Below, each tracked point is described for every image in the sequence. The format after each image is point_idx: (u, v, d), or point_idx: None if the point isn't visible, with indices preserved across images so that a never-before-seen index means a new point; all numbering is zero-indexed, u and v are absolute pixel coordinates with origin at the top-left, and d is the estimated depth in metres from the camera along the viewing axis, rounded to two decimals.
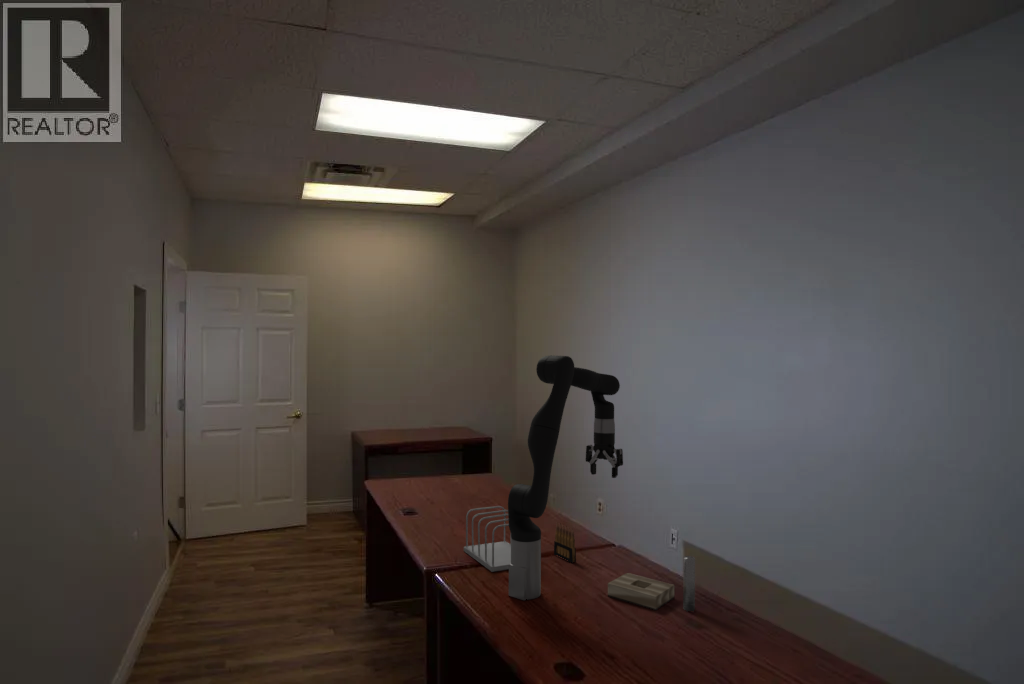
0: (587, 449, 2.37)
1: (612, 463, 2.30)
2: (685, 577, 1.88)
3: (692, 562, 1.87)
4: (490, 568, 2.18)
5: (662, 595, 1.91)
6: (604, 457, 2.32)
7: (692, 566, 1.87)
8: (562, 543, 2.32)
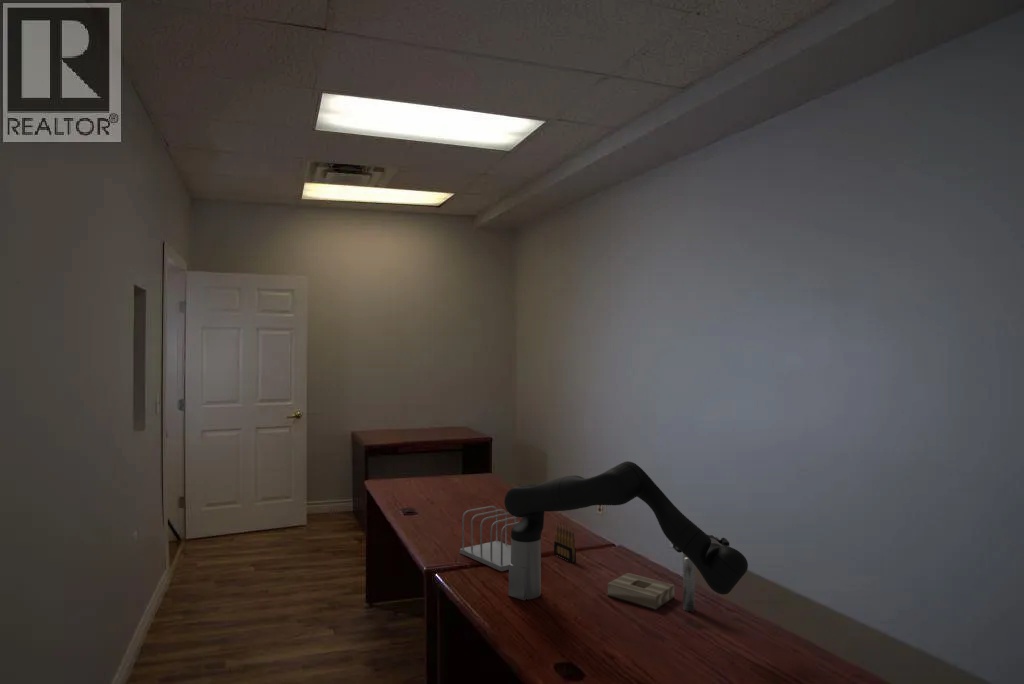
0: (726, 541, 1.73)
1: None
2: (685, 577, 1.88)
3: (692, 562, 1.87)
4: (499, 568, 2.18)
5: (662, 595, 1.91)
6: None
7: (692, 566, 1.87)
8: (562, 543, 2.32)
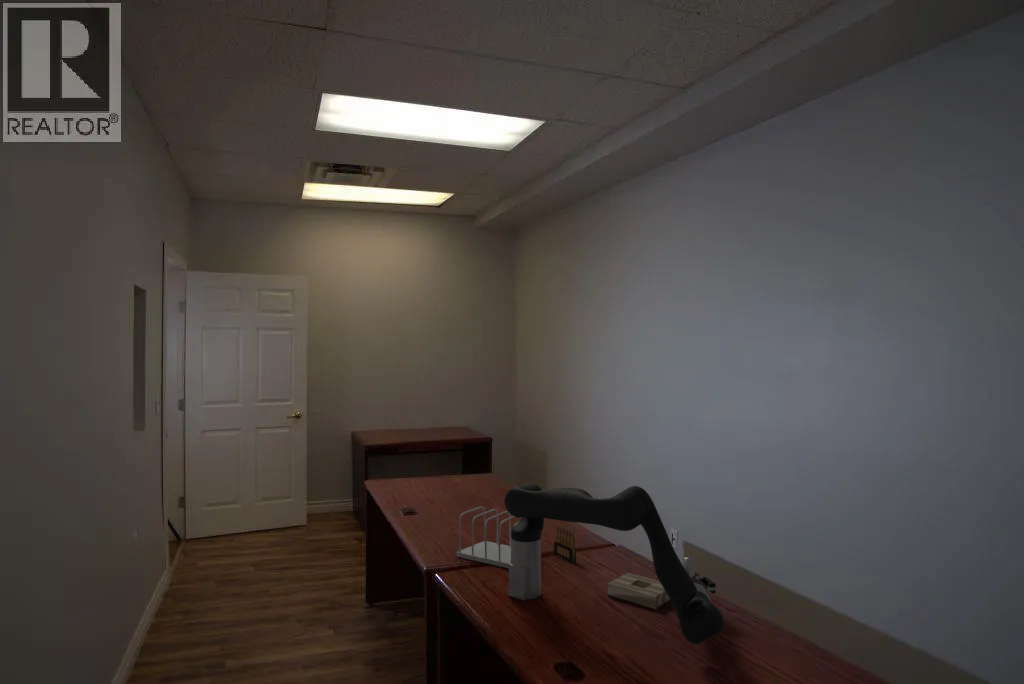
0: (712, 582, 1.82)
1: None
2: None
3: (692, 562, 1.87)
4: None
5: (662, 595, 1.91)
6: None
7: (692, 566, 1.87)
8: (562, 543, 2.32)
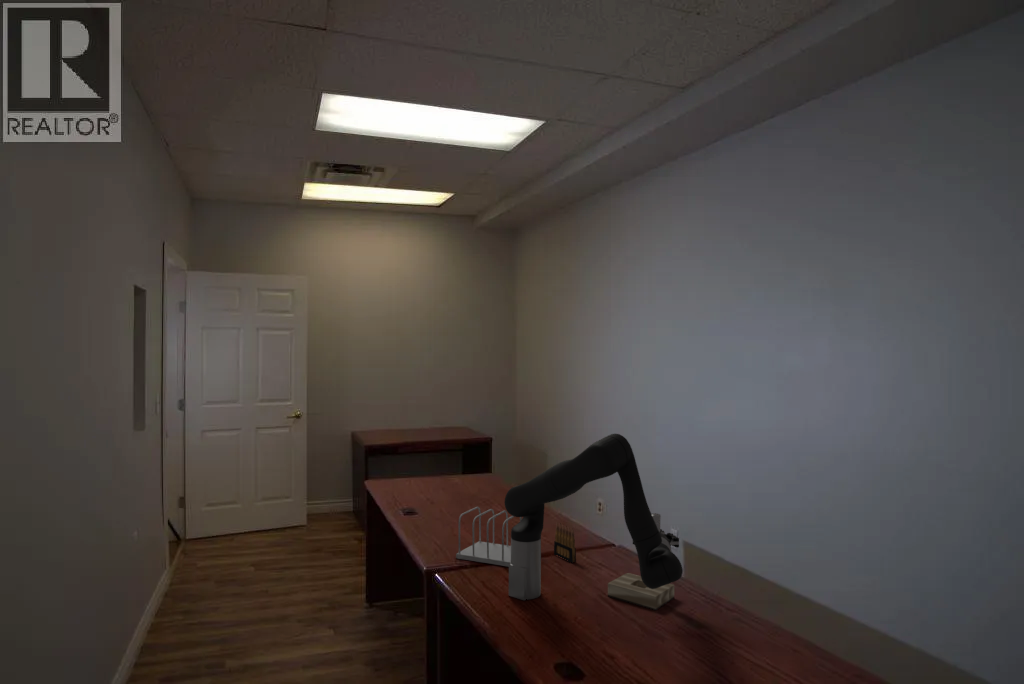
0: (675, 537, 1.89)
1: None
2: None
3: (657, 519, 1.94)
4: None
5: (662, 595, 1.91)
6: None
7: (658, 522, 1.94)
8: (562, 543, 2.32)
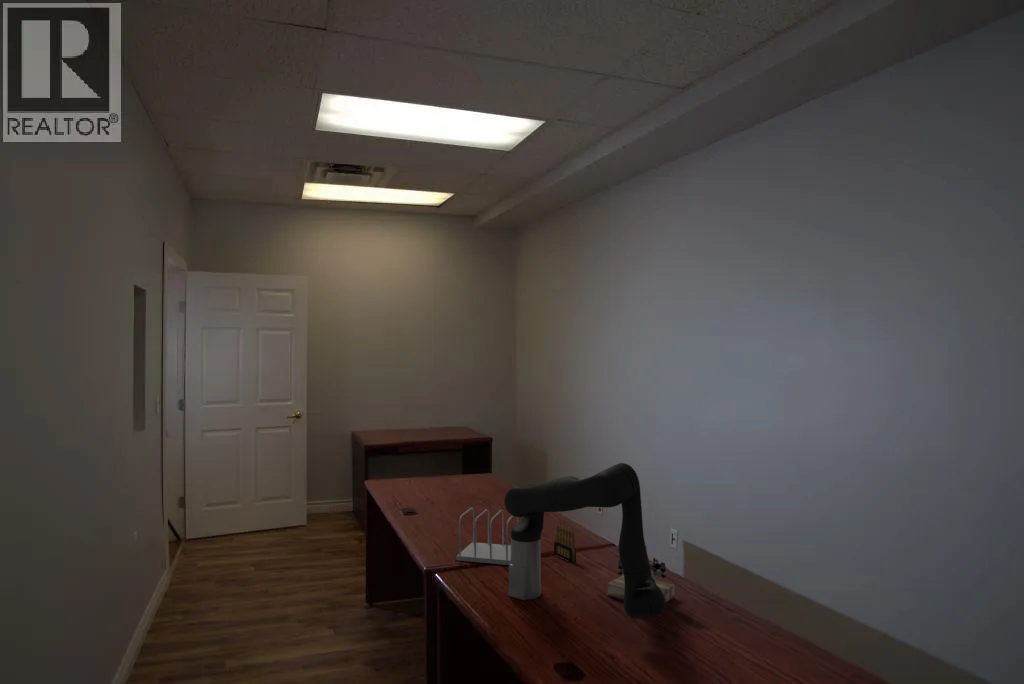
0: (663, 567, 1.90)
1: None
2: None
3: None
4: None
5: None
6: None
7: None
8: (562, 543, 2.32)
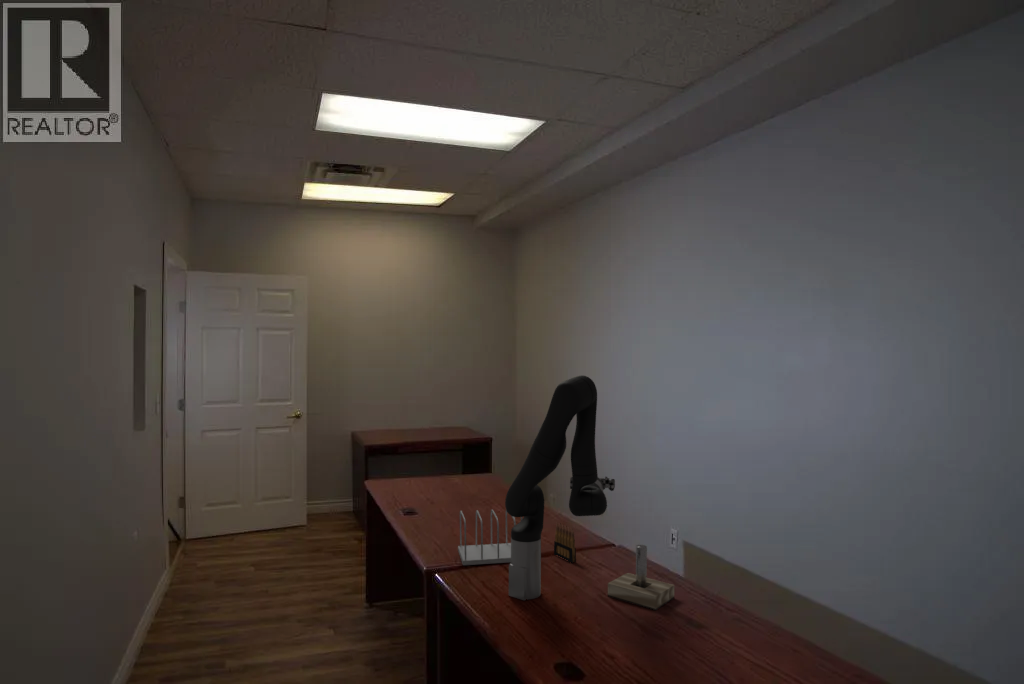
0: (612, 482, 2.05)
1: None
2: (637, 565, 1.96)
3: (644, 551, 1.95)
4: None
5: (662, 595, 1.91)
6: None
7: (644, 554, 1.95)
8: (562, 543, 2.32)
